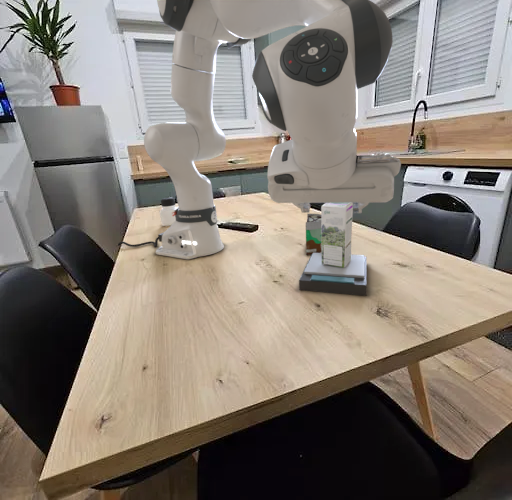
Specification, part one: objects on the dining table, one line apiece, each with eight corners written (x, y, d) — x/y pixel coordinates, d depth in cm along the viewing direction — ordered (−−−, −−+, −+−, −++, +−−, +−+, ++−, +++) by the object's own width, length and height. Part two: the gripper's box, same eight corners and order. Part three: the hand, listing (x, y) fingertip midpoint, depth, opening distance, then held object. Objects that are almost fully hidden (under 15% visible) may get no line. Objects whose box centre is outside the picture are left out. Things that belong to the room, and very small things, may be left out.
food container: (328, 256, 84) (328, 222, 81) (306, 256, 85) (305, 222, 82) (327, 243, 95) (327, 212, 92) (307, 243, 97) (307, 213, 93)
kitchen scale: (299, 290, 66) (299, 277, 65) (311, 262, 81) (311, 251, 80) (366, 295, 61) (366, 282, 60) (366, 265, 76) (366, 254, 75)
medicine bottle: (177, 225, 134) (172, 198, 131) (161, 226, 135) (157, 200, 131) (181, 221, 141) (177, 196, 137) (166, 222, 141) (162, 197, 138)
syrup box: (351, 260, 72) (353, 201, 68) (344, 269, 68) (346, 206, 63) (329, 257, 75) (329, 200, 71) (320, 265, 71) (320, 205, 66)
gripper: (402, 137, 42) (391, 195, 53) (264, 146, 48) (281, 196, 60) (403, 172, 39) (391, 225, 51) (257, 178, 46) (276, 223, 58)
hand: (331, 209), depth 56 cm, fingers open, 8 cm apart
